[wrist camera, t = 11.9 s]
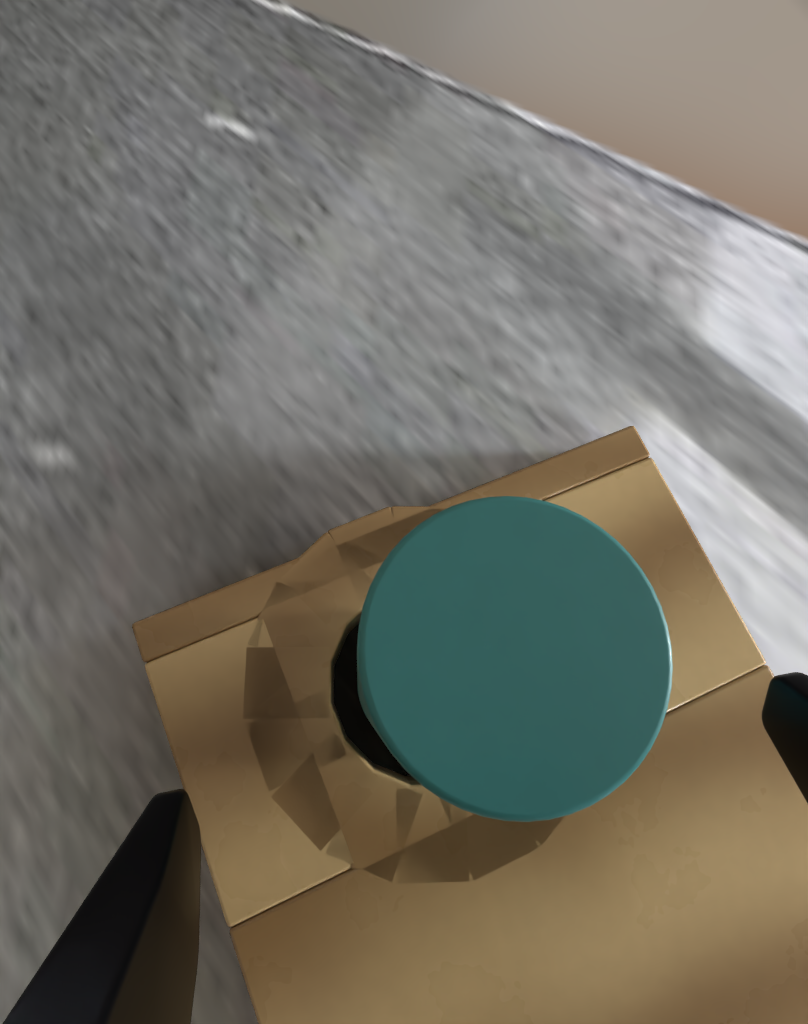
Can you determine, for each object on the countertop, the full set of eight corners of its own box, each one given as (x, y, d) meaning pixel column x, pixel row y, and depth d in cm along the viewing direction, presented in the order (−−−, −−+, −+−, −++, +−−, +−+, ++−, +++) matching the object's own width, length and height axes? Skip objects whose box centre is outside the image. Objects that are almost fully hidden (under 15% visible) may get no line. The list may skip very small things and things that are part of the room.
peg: (504, 716, 17) (735, 735, 7) (386, 770, 17) (436, 886, 6) (452, 599, 18) (584, 451, 8) (338, 647, 17) (308, 560, 7)
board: (1014, 1199, 15) (1109, 1271, 13) (470, 1594, 12) (489, 1754, 11) (601, 440, 20) (627, 411, 18) (150, 619, 17) (125, 608, 15)
